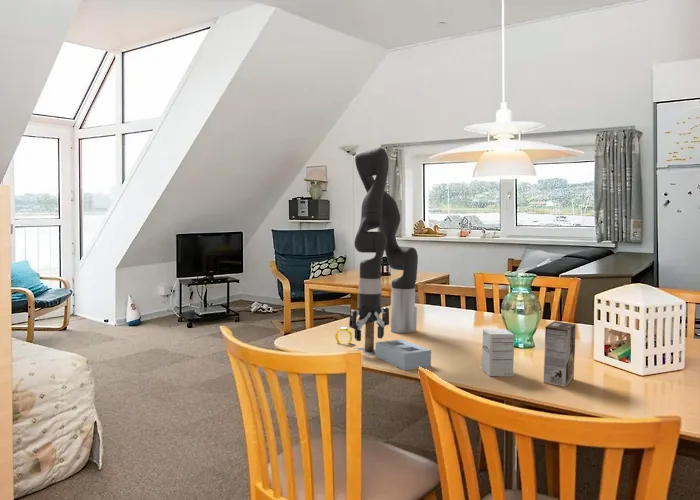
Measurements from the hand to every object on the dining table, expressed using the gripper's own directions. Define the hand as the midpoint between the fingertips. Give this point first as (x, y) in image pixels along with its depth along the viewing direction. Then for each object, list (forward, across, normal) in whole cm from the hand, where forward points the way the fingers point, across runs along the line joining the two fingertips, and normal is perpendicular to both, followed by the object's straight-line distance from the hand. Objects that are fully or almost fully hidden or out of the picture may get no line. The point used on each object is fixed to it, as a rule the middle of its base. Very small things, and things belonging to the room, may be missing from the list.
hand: (369, 339), depth 191 cm
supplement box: (+5, -21, +38) cm, 44 cm away
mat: (+4, 0, 0) cm, 4 cm away
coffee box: (+5, -31, +52) cm, 61 cm away
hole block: (+4, -3, +15) cm, 16 cm away
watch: (+5, +2, -14) cm, 15 cm away
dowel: (+4, 0, 0) cm, 4 cm away
